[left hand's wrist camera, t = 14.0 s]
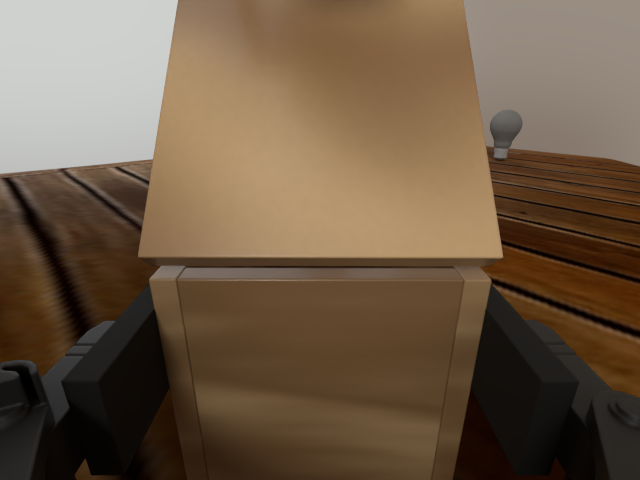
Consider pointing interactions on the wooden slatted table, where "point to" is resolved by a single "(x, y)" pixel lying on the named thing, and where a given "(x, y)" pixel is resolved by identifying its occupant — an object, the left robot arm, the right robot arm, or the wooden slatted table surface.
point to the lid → (320, 138)
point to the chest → (320, 368)
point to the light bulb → (504, 131)
